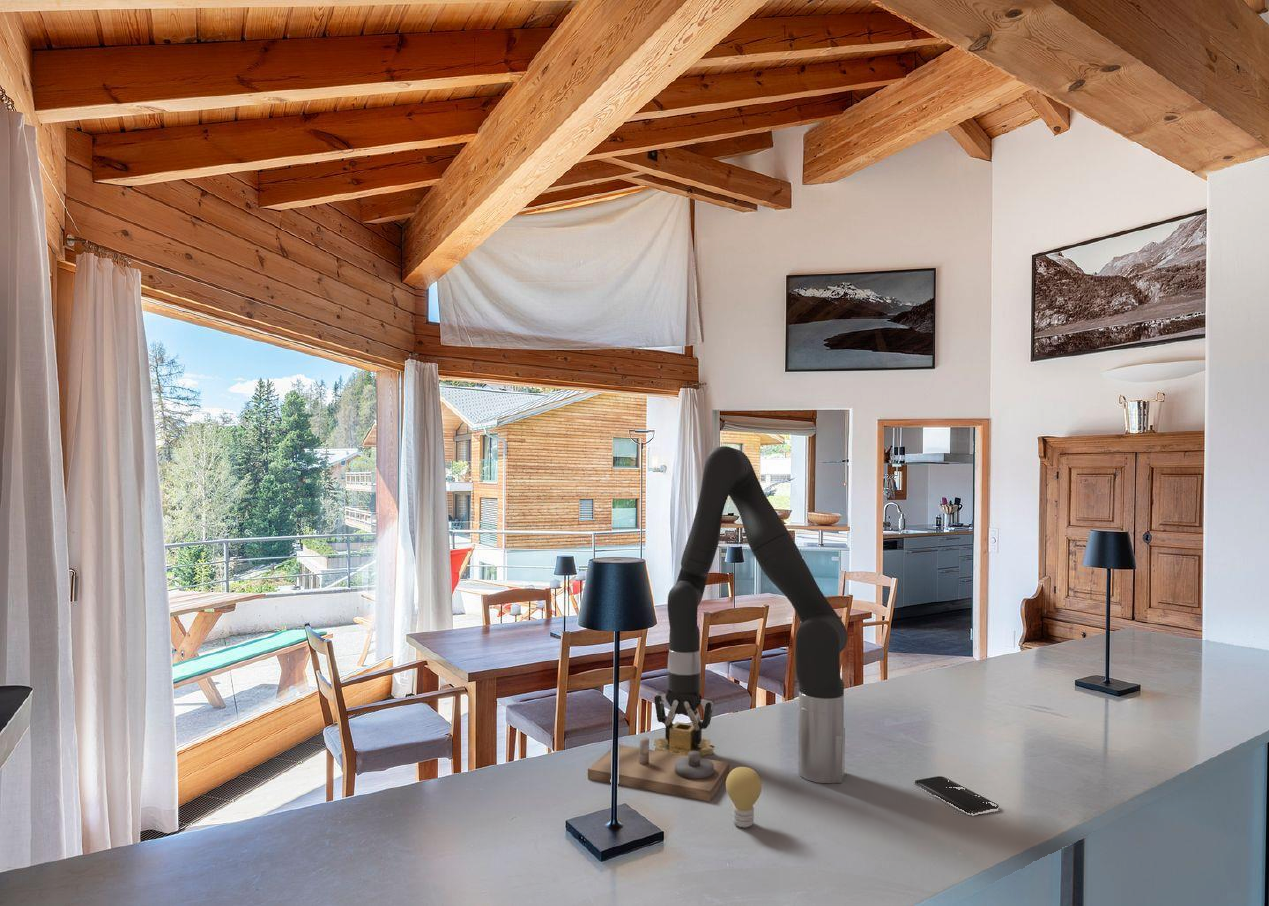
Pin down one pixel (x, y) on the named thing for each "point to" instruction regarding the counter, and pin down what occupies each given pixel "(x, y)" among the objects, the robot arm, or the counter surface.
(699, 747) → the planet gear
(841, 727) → the robot arm
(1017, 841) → the counter surface
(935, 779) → the phone
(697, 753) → the wooden peg board
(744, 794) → the light bulb
